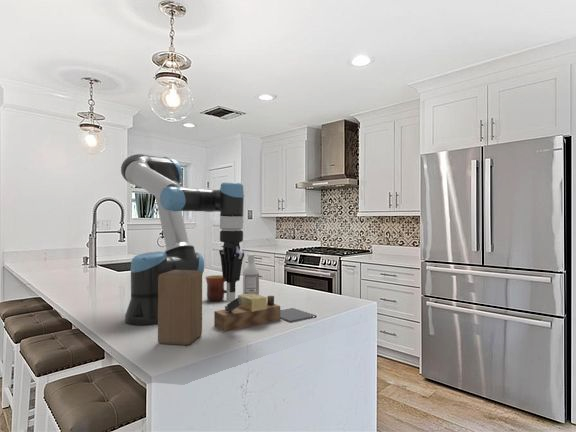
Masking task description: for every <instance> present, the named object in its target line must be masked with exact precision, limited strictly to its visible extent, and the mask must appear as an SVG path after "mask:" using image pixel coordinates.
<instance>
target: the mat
mask: <svg viewBox="0 0 576 432" xmlns="http://www.w3.org/2000/svg"><path fill="white" fill-rule="evenodd" d="M313 316H316V317H317V315H316V314H313V313H310V312H307V311H304V310H301V309H297V308H295V307H291V308H290V307H289V308H286V309H280V320H282V321H285V322H288V323H294V321H295V322H299V321H298V320H300V321H303V320H302V319H305V320H307V319H306V318H309V319H311V318H310V317H313Z"/></svg>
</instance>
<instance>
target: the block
mask: <svg viewBox="0 0 576 432" xmlns="http://www.w3.org/2000/svg"><path fill="white" fill-rule="evenodd" d="M202 334H203V275H202V272H201V271H199V270H172V271H169V272H165V273H162V274H159V276H158V323H157V343H159V344H164V345H165V344H167V345H178V346H179V345H180V346H181V345H182V346H189V345H191V344H192V343H193V342H195V341H196V340H197V339H198V338H199V337H201V336H202Z"/></svg>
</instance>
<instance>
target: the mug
mask: <svg viewBox="0 0 576 432" xmlns="http://www.w3.org/2000/svg"><path fill="white" fill-rule="evenodd" d="M205 280H206V298H207V301H209V302H214V303H215V302H221V301H223V300H224V299H225V294H226V291H227V289H225V282H226V281H225V279H223V275H219V274H218V275H217V274H214V275H207V276H205Z"/></svg>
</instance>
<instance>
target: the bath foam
mask: <svg viewBox="0 0 576 432" xmlns="http://www.w3.org/2000/svg"><path fill="white" fill-rule="evenodd" d="M255 255H256V254H255V253H249V254H247V263H246V265H245V267H244V268H243V271H242V274H243V277H242V281H243V282H242V292H243V293H242V295H243V294H250V293H254V294H257V295H260V272H259V268H258V266H257V264H256V262H255V261H256V260H255Z"/></svg>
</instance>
